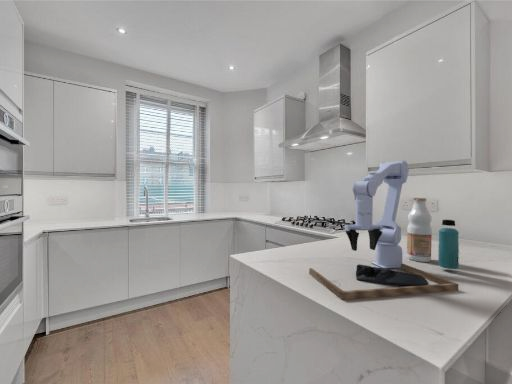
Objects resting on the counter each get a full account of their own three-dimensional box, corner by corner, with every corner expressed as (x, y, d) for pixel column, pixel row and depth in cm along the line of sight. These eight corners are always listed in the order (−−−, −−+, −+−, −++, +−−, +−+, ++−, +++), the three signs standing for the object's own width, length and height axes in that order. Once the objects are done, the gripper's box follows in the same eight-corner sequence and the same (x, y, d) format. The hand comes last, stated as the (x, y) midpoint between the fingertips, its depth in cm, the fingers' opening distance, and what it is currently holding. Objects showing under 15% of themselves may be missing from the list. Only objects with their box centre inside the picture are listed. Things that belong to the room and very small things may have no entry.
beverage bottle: (459, 274, 96) (461, 221, 96) (438, 271, 99) (439, 219, 99) (457, 270, 101) (458, 219, 101) (436, 267, 105) (438, 218, 105)
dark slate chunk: (429, 295, 77) (429, 279, 77) (352, 281, 88) (352, 267, 88) (427, 280, 90) (427, 267, 90) (360, 269, 101) (360, 257, 101)
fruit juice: (401, 257, 120) (402, 197, 119) (417, 256, 122) (418, 197, 122) (419, 263, 110) (420, 198, 110) (436, 261, 113) (437, 198, 113)
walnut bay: (403, 268, 102) (403, 263, 102) (458, 290, 80) (458, 284, 80) (309, 273, 94) (309, 268, 94) (341, 299, 72) (342, 292, 72)
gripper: (374, 212, 100) (373, 246, 100) (340, 212, 97) (339, 247, 97) (386, 213, 93) (386, 251, 93) (351, 214, 90) (350, 252, 90)
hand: (363, 249), depth 95 cm, fingers open, 7 cm apart
